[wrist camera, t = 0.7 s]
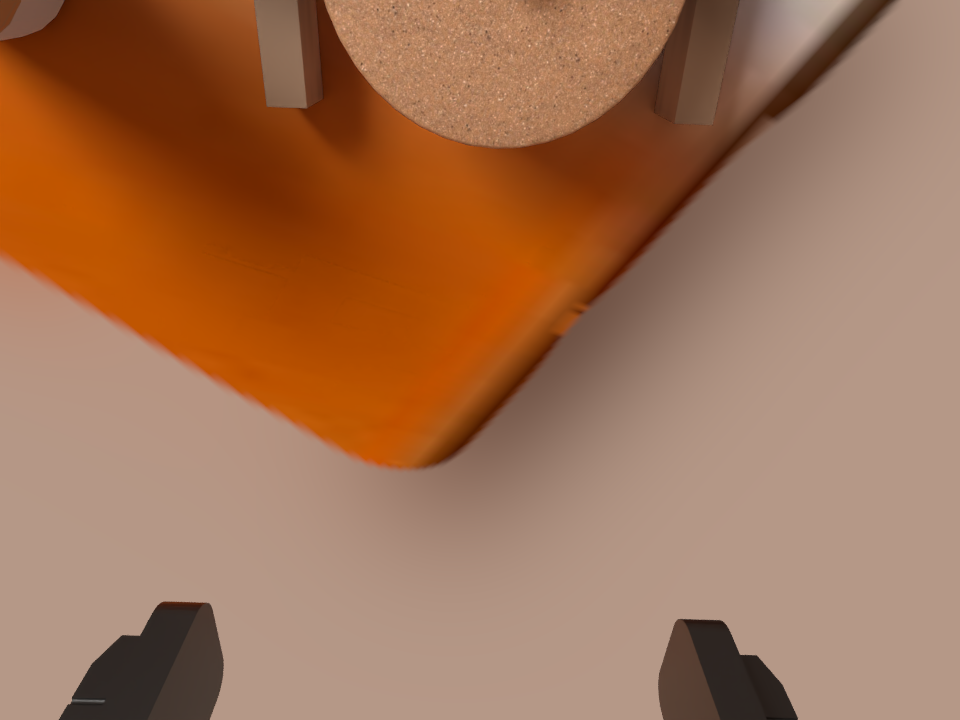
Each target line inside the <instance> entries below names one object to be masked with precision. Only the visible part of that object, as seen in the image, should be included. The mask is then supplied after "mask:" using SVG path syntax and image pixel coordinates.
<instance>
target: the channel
mask: <svg viewBox="0 0 960 720" xmlns="http://www.w3.org/2000/svg"><path fill="white" fill-rule="evenodd" d="M254 5H255V13H256V21H257V30H258V38H259V46H260V54H261V63H262V71H263V79H264V88H265V96H266V104H267V107H286V108H308V107H310V106H312V105H313V104H315V103H317V102H318V101H320V100H322V99H323V86H322V73H321V60H320V48H319V35H318V22H317V9H316V0H254ZM738 5H739V0H686V1H685V3H684V6H683V8H682V11H681V13H680V16H679V18H678V21H677V24H676V26H675V28H674V30H673V31H672V33H671V35H670V37H669V39H668V41H667V42H666V44H665V50H664V56H663V62H662V68H661V74H660V80H659V86H658V92H657V98H656V104H655V110H654V113H656V114H658V115H660V116H661V117H663V118H665V119H667V120H669V121H670V122H672V123H674V124H695V125H713V122H714V117H715V112H716V108H717V103H718V98H719V94H720V89H721V84H722V80H723V75H724V70H725V65H726V61H727V56H728V51H729V47H730V42H731V37H732V33H733V28H734V23H735V19H736V14H737V9H738Z"/></svg>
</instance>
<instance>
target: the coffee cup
mask: <svg viewBox="0 0 960 720" xmlns="http://www.w3.org/2000/svg"><path fill="white" fill-rule="evenodd" d="M64 1H65V0H0V41H1V40H7V39H12V38H18V37H23V36H26V35H28V34H31V33H34V32H36V31H39V30H42V29H43V28H44V27H45V26H46V25H47V24H48V23H49V22H50V21H52V20H53V19H54V18H55V17H56V16H57V14H58V12H59V10H60V8H61V6H62V4H63V2H64Z"/></svg>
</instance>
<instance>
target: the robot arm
mask: <svg viewBox="0 0 960 720" xmlns="http://www.w3.org/2000/svg"><path fill="white" fill-rule="evenodd" d="M223 666H224V665H223V655H222V651H221V646H220V641H219V638H218V633H217V628H216V623H215V619H214V614H213V610H212V607H211V605H210V604H209V603H196V602H194V603H193V602H162V603H160V604H159V605H158V606H157V607H156V608H155V610H154V612H153V613H152V615H151V617H150V619H149V620H148V622H147V624H146V626H145V628H144V630H143V632H142V633H141V635H140V636H126V635H122V636H121V637H120V638H119V639H118V640H117V641H116V642H114V643H113V644H112V645H111V646H110V647H109V648H108V649H107V650H106V651H105V652H104V653H103V654H102V655H101V656H100V657H99V658H98V659H97V660H95V662H93V663H92V665H91V667H90V668H89V670H88V671H87V673H86V675H85V677H84V678H83V680H82V682H81V683H80V685H79V687H78V688H77V690H76V692H75V693H74V695H73V697H72V702H71V704H70V705H69V704H68V705H67V707H66V709H65V710H64V712H63V714H62V715H61V717H60V719H59V720H210V717H211V714H212V712H213V709H214V706H215V704H216V701H217V698H218V695H219V692H220V688H221V683H222V678H223ZM658 685H659V686H658V689H659V700H660V707H661V711H662V715H663V719H664V720H798V718H797V715H796V713H795V711H794V709H793V707H792V705H791V702H790V700H789V698H788V696H787V694H786V692H785V689H784V687H783V685H782V684H781V683H780V681H779V680H778V679H777V678H776V677H775V676H774V675H773V674H772V672H771V671H770V670H769V669H768V668H767V667H766V665H765V664H764V663H763V662H762V661H761V660H760V659H759V657H758V656H755V655H740V654H739V652H738V649H737V647H736V644H735V642H734V640H733V637H732V635H731V633H730V631H729V629H728V627H727V625H726V624H725V623H724V622H723V621H720V620H691V619H678V620H677V621H676V622H675V625H674V628H673V631H672V634H671V637H670V641H669V643H668V647H667V650H666V653H665V656H664V660H663V663H662V666H661V669H660V673H659V682H658Z"/></svg>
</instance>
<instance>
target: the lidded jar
mask: <svg viewBox="0 0 960 720" xmlns="http://www.w3.org/2000/svg"><path fill="white" fill-rule="evenodd" d="M685 1H686V0H324V2H325V6H326V9H327V11H328V13H329V16H330V18H331V21H332V23H333V25H334V28H335V30H336V32H337V35H338V37H339V39H340V41H341V43H342V44H343V46H344V48H345V49H346V51H347V53H348V54H349V56H350V58H351V59H352V61H353V63H354V65H355V66H356V67H357V69H358V70H359V71H360V72H361V74H362V75H363V76H364V77H365V79H366V80H367V81H368V82H369V84H370V85H371V86H372V88H373V89H374V90H375V91H376V92H377V93H378V94H379V95H380V96H381V97H382V98H384V99H385V100H386V101H387V102H388V103H389V104H390V105H391V106H392V107H393V108H394V109H395V110H397V111H398V112H399V113H401V114H402V115H404V116H405V117H407V118H408V119H410V120H411V121H413V122H414V123H415V124H417V125H418V126H420V127H422V128H424V129H426V130H428V131H430V132H433V133H435V134H437V135H439V136H441V137H443V138H446V139H449V140H453V141H456V142H459V143H463V144H466V145H470V146H478V147H486V148H494V149H501V148H523V147H528V146H533V145H537V144H542V143H547V142H550V141H553V140H555V139H558V138H561V137H564V136H566V135H569V134H572V133H574V132H576V131H577V130H579V129H581V128H583V127H584V126H586V125H588V124H590V123H592V122H593V121H595V120H597V119H598V118H600V117H601V116H602V115H604V114H605V113H606V112H607V111H609V110H610V109H611V108H613V107H614V106H615V105H616V104H618V103H619V102H620V101H621V100H622V99H623V98H624V97H625V96H626V95H627V94H628V93H629V92H630V91H631V90H632V89H633V88H634V87H635V86H636V85H637V84H638V83H639V82H640V81H641V80H642V78H643V77H644V75H645V74H646V73H647V71H648V70H649V69H650V67H651V66H652V65H653V63H654V62H655V60H656V59H657V58H658V56H659V55H660V53H661V52H662V50H663V48H664V46H665V44H666V42H667V41H668V39H669V37H670V35H671V33H672V31H673V30H674V28H675V26H676V24H677V21H678V18H679V16H680V13H681V11H682V8H683V6H684V3H685Z"/></svg>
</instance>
